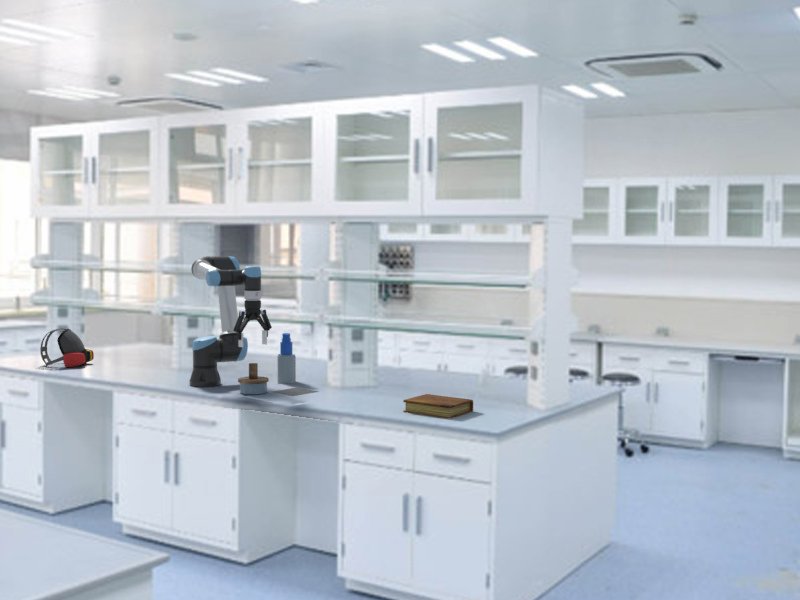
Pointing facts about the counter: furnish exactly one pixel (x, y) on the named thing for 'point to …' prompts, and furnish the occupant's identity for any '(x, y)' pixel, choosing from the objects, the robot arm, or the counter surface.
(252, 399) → the counter surface
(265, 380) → the lid
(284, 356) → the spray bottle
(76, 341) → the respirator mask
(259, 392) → the bowl
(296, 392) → the mat
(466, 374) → the counter surface
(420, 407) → the diary
